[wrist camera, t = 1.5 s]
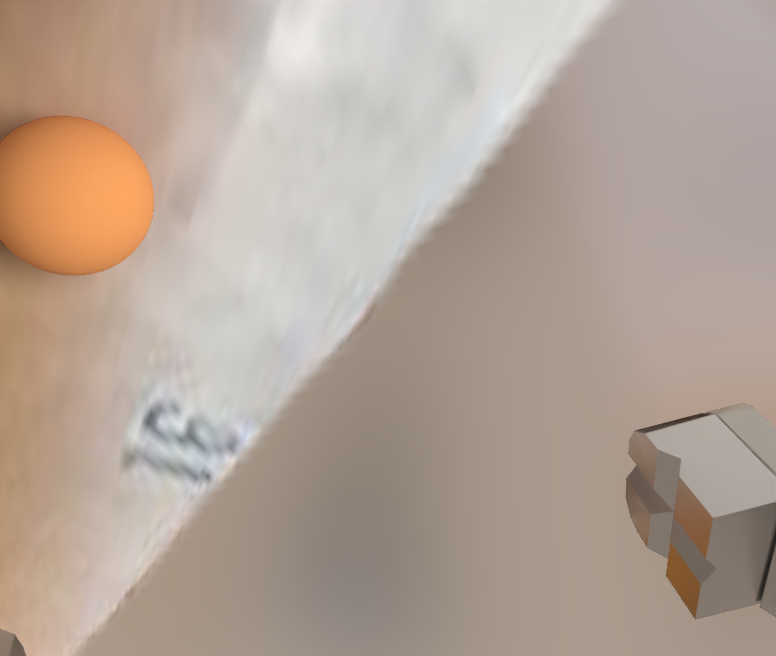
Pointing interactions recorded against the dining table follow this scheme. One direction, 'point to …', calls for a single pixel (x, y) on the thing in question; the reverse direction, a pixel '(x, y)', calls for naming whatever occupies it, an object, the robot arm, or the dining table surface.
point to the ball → (72, 195)
